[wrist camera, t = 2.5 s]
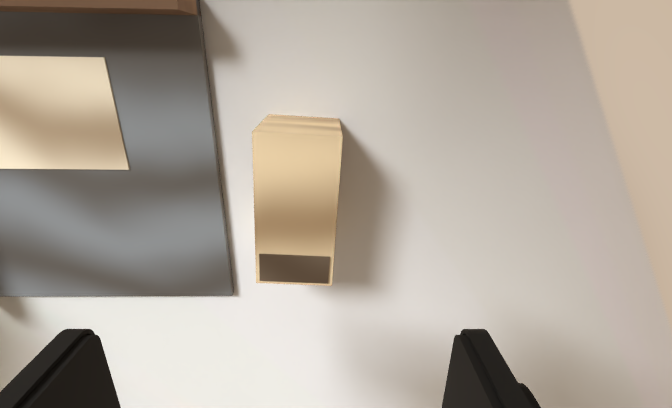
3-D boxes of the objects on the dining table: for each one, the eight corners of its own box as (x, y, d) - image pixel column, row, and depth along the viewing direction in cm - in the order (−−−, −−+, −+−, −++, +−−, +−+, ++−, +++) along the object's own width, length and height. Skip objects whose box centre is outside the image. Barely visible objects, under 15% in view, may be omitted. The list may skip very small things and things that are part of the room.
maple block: (269, 113, 20) (251, 132, 15) (338, 118, 20) (343, 137, 16) (270, 237, 23) (255, 283, 18) (330, 240, 23) (331, 286, 19)
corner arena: (-157, -15, 17) (-251, -28, 14) (198, -7, 17) (174, -18, 15) (-17, 291, 24) (-62, 322, 21) (233, 291, 25) (222, 321, 22)
